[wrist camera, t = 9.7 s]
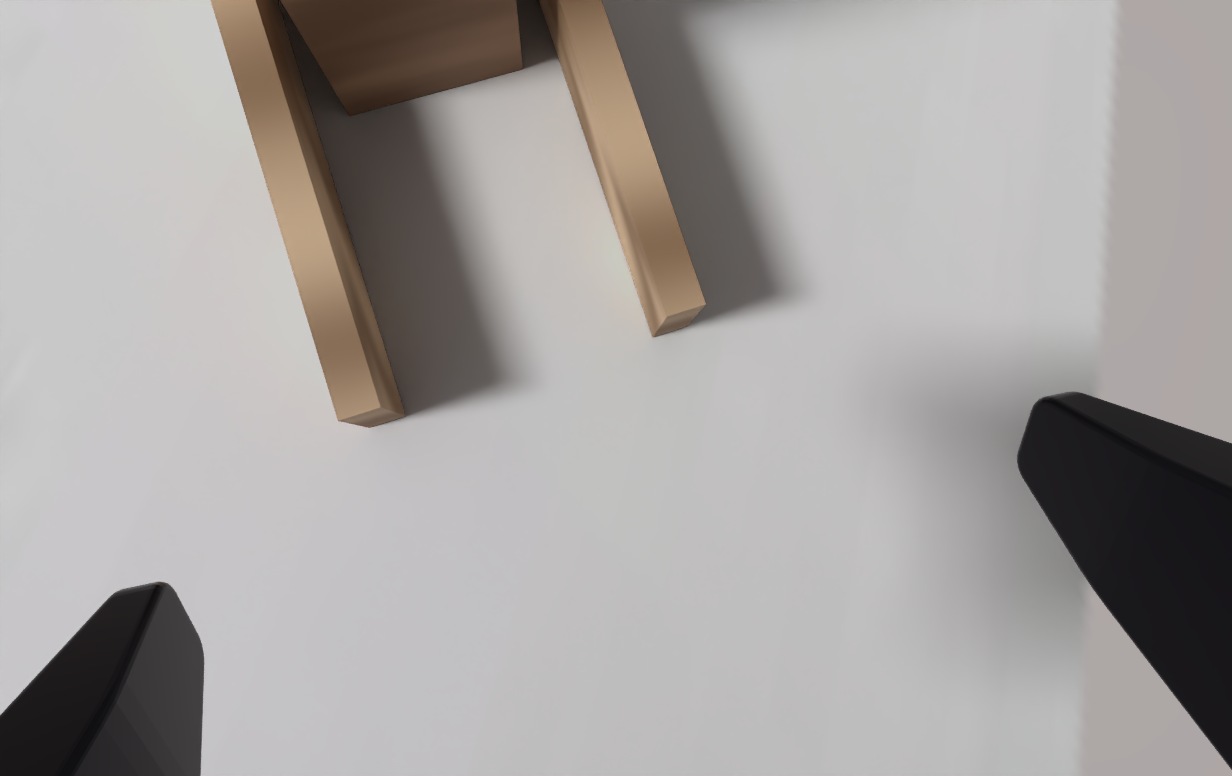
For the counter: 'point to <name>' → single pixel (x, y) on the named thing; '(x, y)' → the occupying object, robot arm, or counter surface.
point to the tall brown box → (407, 45)
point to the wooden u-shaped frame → (323, 233)
